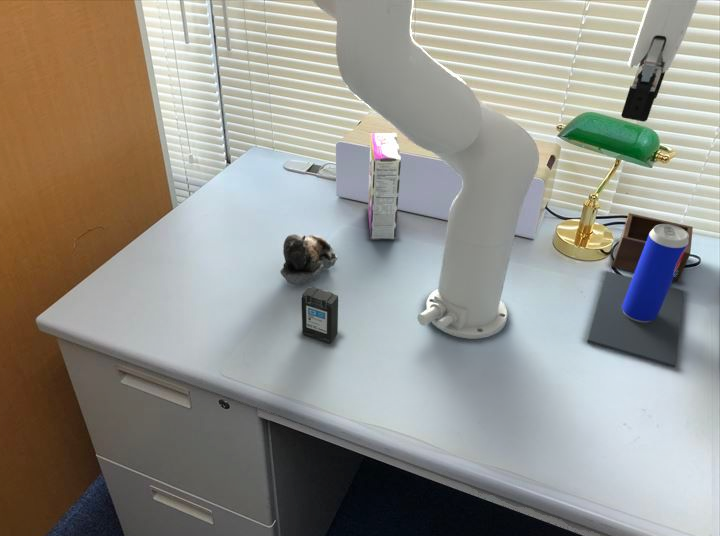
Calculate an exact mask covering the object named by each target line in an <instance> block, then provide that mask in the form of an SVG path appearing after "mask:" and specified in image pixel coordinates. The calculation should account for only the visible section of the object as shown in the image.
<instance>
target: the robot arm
mask: <svg viewBox="0 0 720 536" xmlns="http://www.w3.org/2000/svg"><path fill="white" fill-rule="evenodd" d="M312 2H313V3H314V4H315V5H316V6H317V7H318V8H319V9H320V10H322V11H323V12H324V13H326V14H327V15H329V16H330V17H332V18H333V19H334V20H335V21H336V34H335V35H336V36H335V55H336V62H337V66H338V70H339V73H340V77H341V79H342V82H343V83H344V85H345V86H346V87H347V88H348V90H349V91H350V92H351V93H352V94H353V95H354V96H355V97H356V98H358V99H359V100H360V101H361V102H362V103H363V104H365V105H366V106H368V107H369V108H370V109H371V110H373V111H374V112H376V114H378V115H379V116H380V117H381V118H383V119H384V120H385V121H387V123H389V124H390V125H392V127H394V128H395V129H396V130H397V131H398V132H399V133H400V134H401V135H403V136H404V137H405V138H406V139H407V140H408V141H410V142H412V143H413V144H415V145H416V146H417V147H419V148H421V149H422V150H423V149H424V150H426V151H427V152H431V153H432V154H434V155H435V156H437V157H438V158H439V159H440V160H441V161H442V162H444V164H446V165H447V166H448V167H449V168H451V170H453V171H454V172H455V173H456V174H457V176H459V177H460V180H461V181H462V185H461V189H460V190H459V192H458V193H457V195H456V196H455V198H454V199H453V201H452V203H451V205H450V208H449V211H448V217H447V222H446V223H447V224H446V233H445V240H444V247H443V253H442V260H441V267H440V275H439V281H438V288H437V289H435V290H434V291H432V293H431V294H429V296H428V297H427V299H426V302H425V309H424V310H423V311H422V312H421V313H419V314H418V315H417V316H416V319H417V322H418V323H419V325H421V326H423V327H425V326H427V325H429V324H432V325H433V326H434V327H436V328H437V329H439V330H440V331H442V332H443V333H445V334H448V335H451V336H453V337H457V338H462V339H470V340H471V339H472V340H475V339H484V338H488V337H491V336H494V335H496V334H498V333H500V331H502V329H503V328H504V327H505V325H506V323H507V319H508V309H507V306H506V305H505V303H504V301H503V300H502V295H503V290H504V285H505V282H506V276H507V272H508V267H509V264H510V260H511V259H510V258H511V254H512V250H513V246H514V240H515V235H516V231H517V226H518V222H519V219H520V214H521V211H522V207H523V204H524V201H525V199H526V197H527V194H528V192H529V189H530V187H531V185H532V183H533V182H534V179H535V176H536V175H537V172H538V169H539V164H540V151H539V149H538V146H537V143H536V141H535V140H534V138H533V136H532V135H530V133H529V132H528V131H527V130H526V129H524V127H522V126H521V125H520V124H518V123H516V122H515V121H514V120H512V119H510V118H509V117H507V116H506V115H504V114H503V113H501V112H498V111H497V110H496V109H494V108H493V107H491V106H490V105H488V104H487V103H485V102H484V101H482V100H481V99H479V98H478V97H477V96H476V94H475V92H474V91H473V90H472V88H471V87H470V86H469V85H468V83H466V82H465V81H464V80H463V79H462V78H461V77H460V76H458V75H457V74H456V73H454V72H453V71H451V70H449V69H448V68H447V67H445V66H443V65H442V64H441V63H439V62H438V61H436V60H435V59H434V58H433V57H432V56H430V54H429V53H427V52H426V50H425V49H424V48H423V47H421V46H420V45H419V44H418V43H417V42H416V41H415V40H414V38H413V35H412V28H411V27H412V26H411V25H412V15H413V9H414V0H312ZM697 3H698V0H648V1H647V4H646V6H645V7H646V8H645V11H644V13H643V16H642V20H641V22H640V26H639V29H638V32H637V35H636V38H635V41H634V45H633V47H632V50H631V53H630V57H629V60H628V62H627V65H628V67H629V68H630V69H633V67H637V66H638V68H637V71H636V74H635V77H634V79H633V83H632V84H631V86H630V87H629V89H628V93H627V95H626V99H625V102H624V105H623V107H622V112H621V118H623V119H628V120H632V121H636V122H637V121H639V122H647V121H648V119H649V116H650V113H651V110H652V108H653V104H654V102H655V99H657V97H658V95H659V92H660V89H661V86H662V83H663V81H664V78H665V74H666V72H667V71H669V69H670V67H671V65H672V64H673V61H674V59H675V58H676V56H677V53H678V52H679V49H680V47H681V45H682V42H683V40H684V37H685V35H686V32H687V30H688V28H689V25H690V23H691V20H692V17H693V14H694V12H695V9H696V6H697Z"/></svg>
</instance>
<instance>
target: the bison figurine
mask: <svg viewBox="0 0 720 536" xmlns="http://www.w3.org/2000/svg"><path fill="white" fill-rule="evenodd" d="M282 249H283V251H282V254H283V257H284V263H283V267H282V268H281V270H280V273H279V274H280V275H281V277H283V278H284V279H285V281H286V282H287V284H288V285H290V286H293V287H300V286H301V287H302V286H305V285H308V284H309V283H311V282H314V281H316V280H317V279H318V278H319V276H320V274H321V273H322V272H324V271H325V270H328V269H330V268H331V267H334V266H335V264H336V262H337V261H338V260H339V256H338V255H337V254H336V252H334V250H333V248H332V246H331V244H330V243H328V242H327V241H326V240H325V239H324V237H322V236H319V235H315V234H310V235H307V236H306V235H300V234H295V233H294V234H289V235H288V236H286V237H285V240H284V241H283V248H282Z"/></svg>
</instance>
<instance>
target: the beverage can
mask: <svg viewBox="0 0 720 536" xmlns="http://www.w3.org/2000/svg"><path fill="white" fill-rule="evenodd" d="M688 242H689V234H688V233H687V232H686V231H685V230H684V229H682V228H680V227H677V226H674V225H669V224H660V225H656V226H655V227H654V228H653V229H652V230H651V232H650V233H649V236H648V238H647V241H646V244H645V246H644V249H643V252H642V254H641V257H640V260H639V262H638V265H637V268H636V270H635V272H633V276H632V281H631V283H630V286H629V289H628V291H627V294H626V297H625V299H624V302H623V305H622V310H623V312H624V314H625V315H626V316H627V317H628V318H630V319H631V320H634V321H637V322H641V323H646V322H650V321H652V320H654V319H656V318H657V316H658V313H659V311H660V309H661V306H662V304H663V302H664V299H665V297H666V294H667V292H668V290H669V287H671V285H672V283H673V282H672V280H673V278H674V276H675V273H676V271H677V269H678V266H679V264H680V262H681V259H682V257H683V255H684V252H685V250H686V248H687V245H688Z"/></svg>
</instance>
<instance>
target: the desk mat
mask: <svg viewBox="0 0 720 536" xmlns="http://www.w3.org/2000/svg"><path fill="white" fill-rule="evenodd" d="M632 278H633V276H628V275H625V274H624V275H623V274H620V273H616V272H612V271H607V270H606V271H605V275H604V279H603V281H602V286H601V289H600V293H599V297H598V301H597V303H596V307H595V311H594V315H593V319H592V323H591V326H590V330H589V333H588V337H587V340H586V343H589V344H593V345H596V346H600V347H603V348H606V349H609V350H613V351H616V352H620V353H623V354H626V355H630V356H633V357H637V358H640V359H644V360H647V361H650V362H653V363H657V364H660V365H663V366H668V367H671V368H676V363H677V354H678V347H679V346H678V345H679V334H680V333H679V332H680V327H681V326H680V325H681V315H682V306H683V295H684V290H683V289H678V288H675V287H671V286H670V287H669V290H668V292H667V294H666V297H665V299H664V302H663V304H662V306H661V309H660V311H659V313H658V316H657V318H656V319H654V320H652V321H650V322H646V323H641V322H637V321H634V320H631V319H630V318H628V317H627V316H626V315H625V314H624V312H623V310H622V305H623V302H624V299H625V297H626V294H627V291H628V289H629V286H630V283H631V281H632Z"/></svg>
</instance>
